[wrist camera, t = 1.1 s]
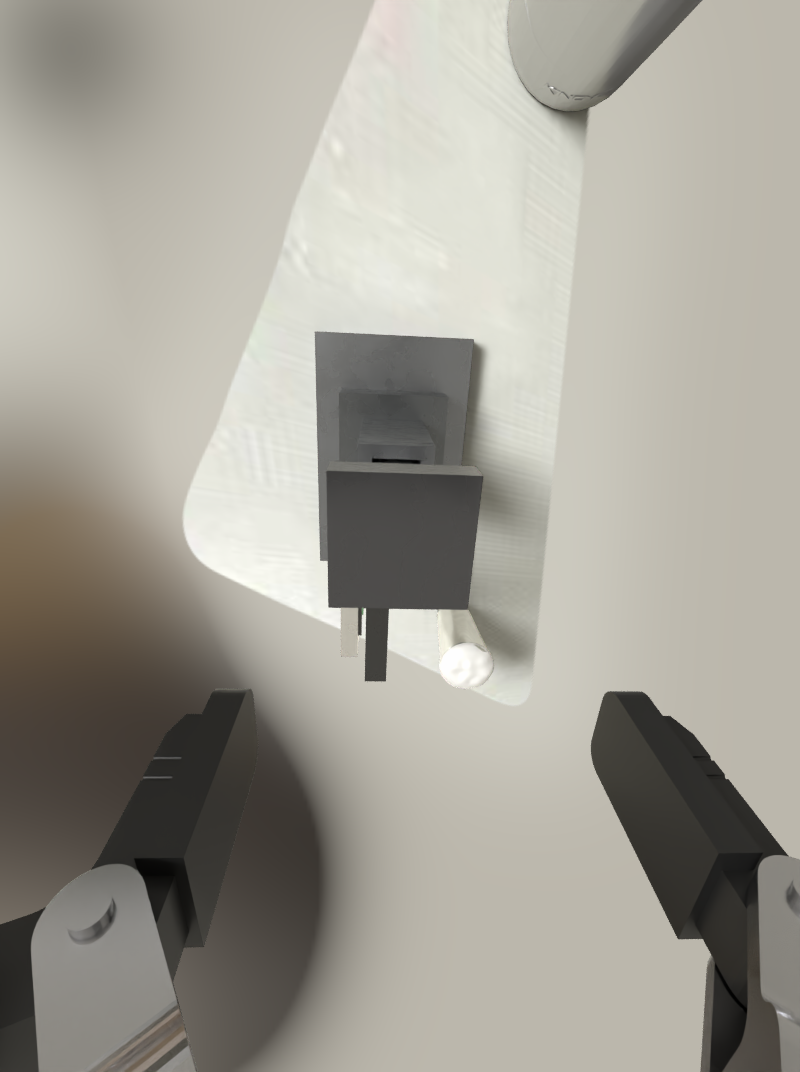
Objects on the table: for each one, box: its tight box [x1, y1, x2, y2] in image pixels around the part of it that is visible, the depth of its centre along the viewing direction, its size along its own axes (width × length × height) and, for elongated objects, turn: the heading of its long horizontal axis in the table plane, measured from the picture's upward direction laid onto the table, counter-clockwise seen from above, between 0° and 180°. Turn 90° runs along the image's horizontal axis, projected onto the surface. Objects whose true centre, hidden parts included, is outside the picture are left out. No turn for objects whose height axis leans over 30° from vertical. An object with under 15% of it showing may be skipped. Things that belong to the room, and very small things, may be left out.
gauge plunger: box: [326, 458, 483, 681], centre depth 25 cm, size 10×6×12 cm, turn 177°
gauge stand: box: [315, 332, 474, 657], centre depth 33 cm, size 19×12×16 cm, turn 177°
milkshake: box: [437, 609, 494, 689], centre depth 42 cm, size 4×5×10 cm
